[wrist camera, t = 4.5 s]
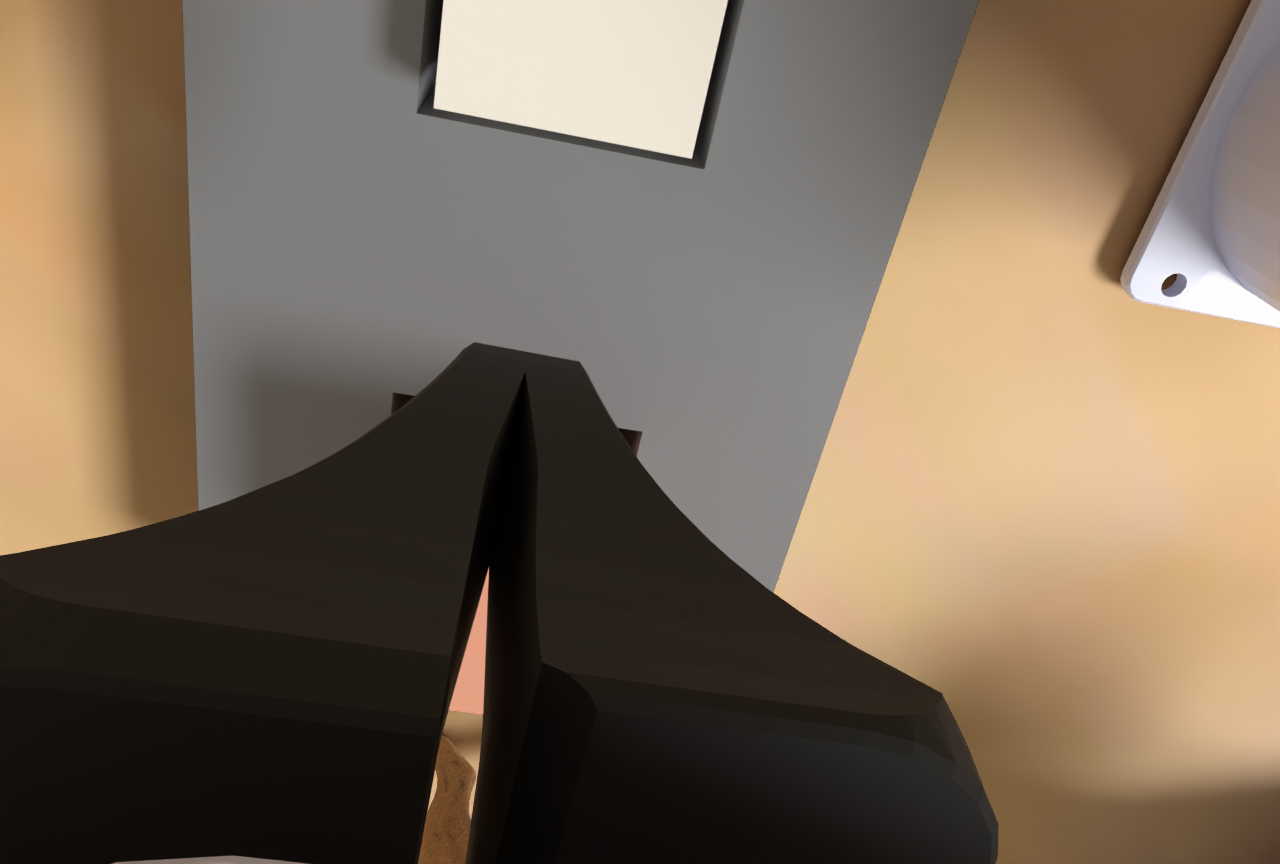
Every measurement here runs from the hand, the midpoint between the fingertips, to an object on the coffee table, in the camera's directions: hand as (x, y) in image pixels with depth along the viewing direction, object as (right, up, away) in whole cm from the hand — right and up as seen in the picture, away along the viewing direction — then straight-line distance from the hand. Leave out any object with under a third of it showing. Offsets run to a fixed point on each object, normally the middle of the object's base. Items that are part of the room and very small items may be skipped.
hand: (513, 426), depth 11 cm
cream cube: (+1, +8, +6) cm, 10 cm away
